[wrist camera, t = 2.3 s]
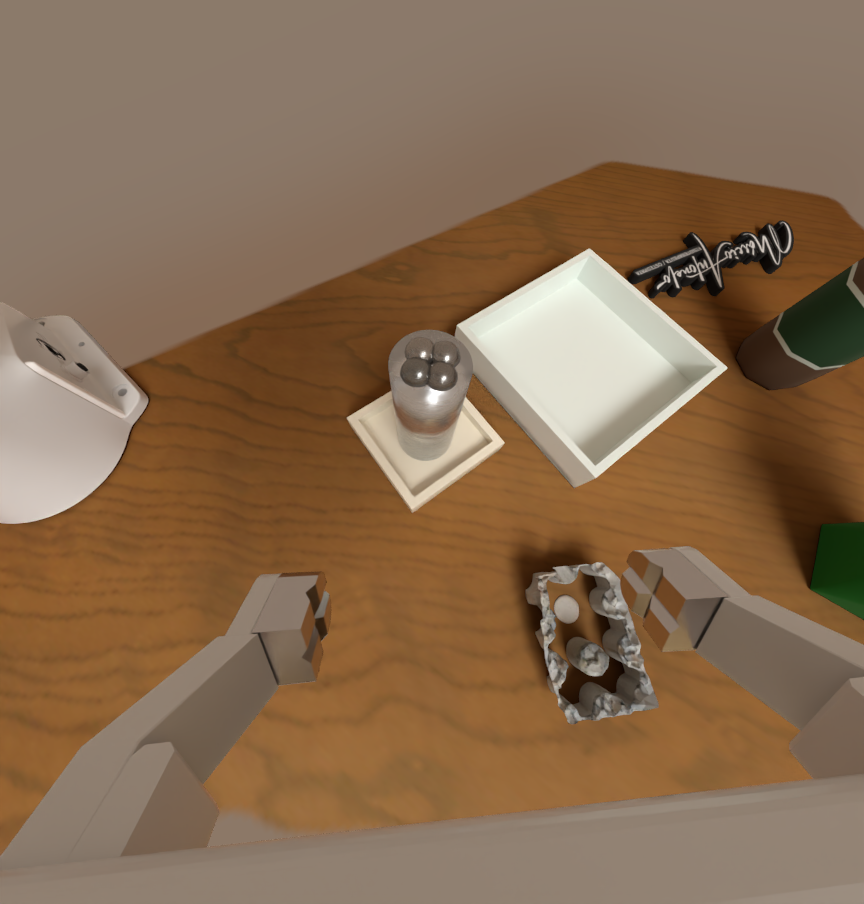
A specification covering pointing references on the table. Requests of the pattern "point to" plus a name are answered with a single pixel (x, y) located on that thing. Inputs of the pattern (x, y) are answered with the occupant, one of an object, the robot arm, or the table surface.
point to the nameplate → (716, 260)
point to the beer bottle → (809, 335)
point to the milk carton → (841, 566)
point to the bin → (585, 364)
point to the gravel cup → (428, 390)
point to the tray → (417, 476)
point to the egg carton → (593, 646)
